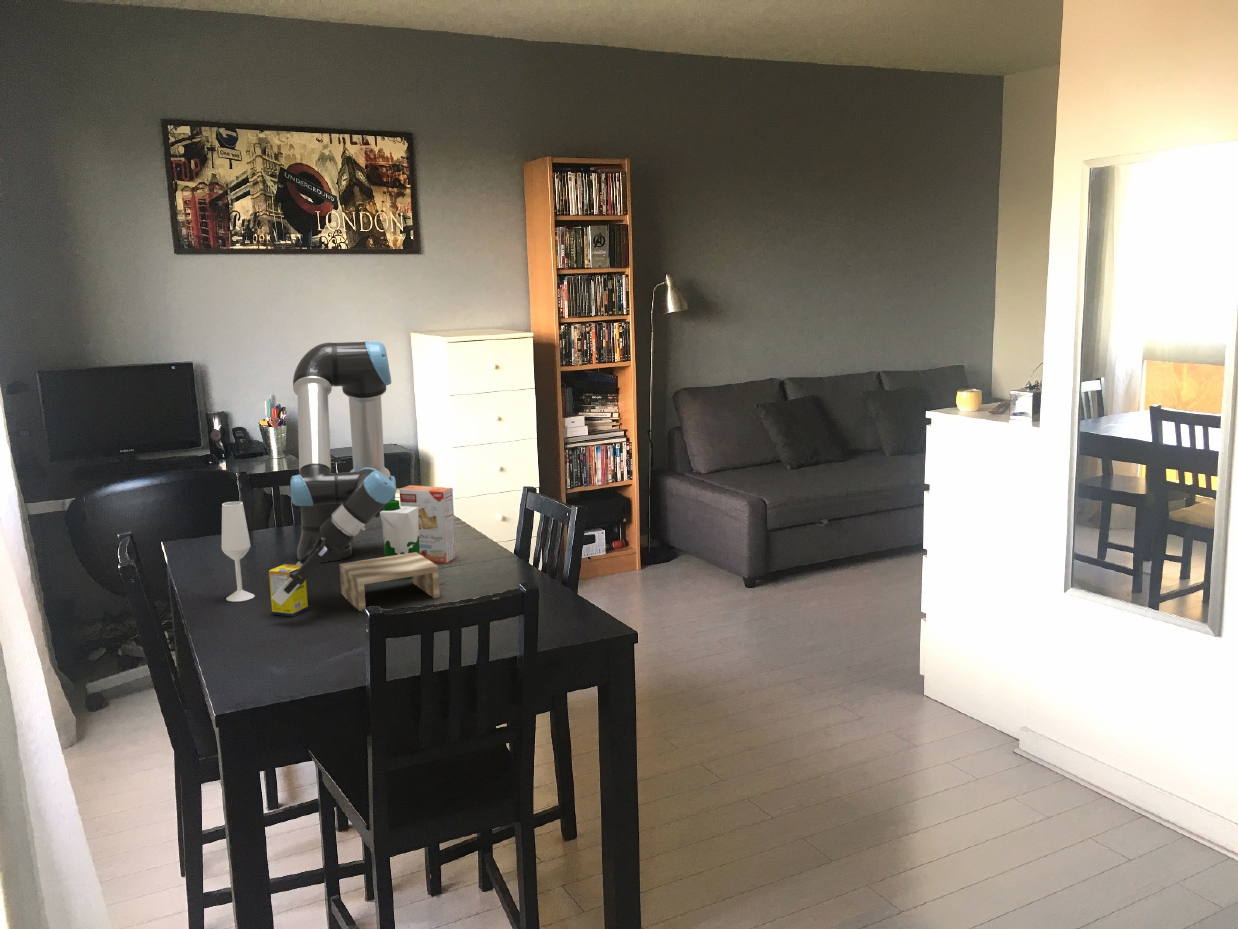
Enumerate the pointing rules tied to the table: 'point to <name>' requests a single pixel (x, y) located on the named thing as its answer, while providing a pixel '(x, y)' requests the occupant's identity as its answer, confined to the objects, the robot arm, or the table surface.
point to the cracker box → (433, 520)
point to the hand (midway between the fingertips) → (280, 592)
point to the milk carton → (400, 529)
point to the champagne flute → (235, 542)
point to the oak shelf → (387, 575)
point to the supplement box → (295, 600)
